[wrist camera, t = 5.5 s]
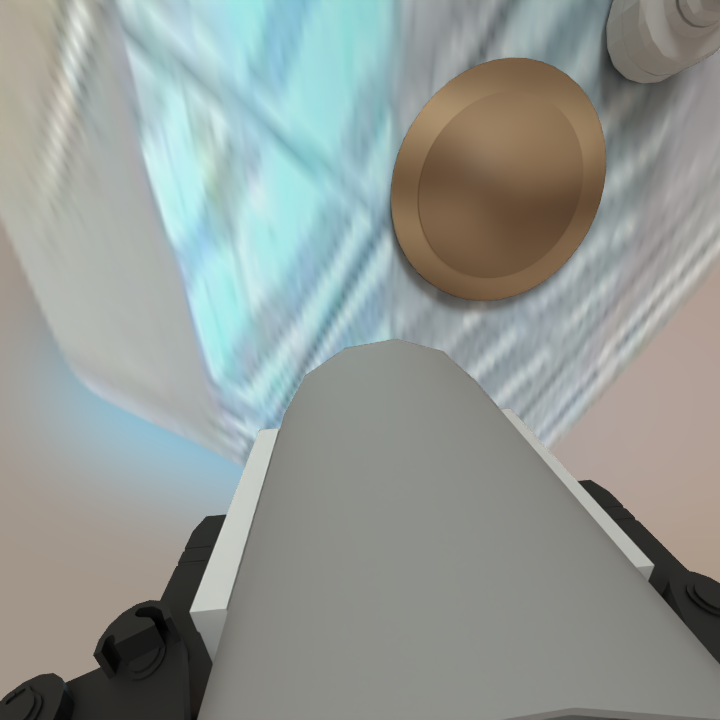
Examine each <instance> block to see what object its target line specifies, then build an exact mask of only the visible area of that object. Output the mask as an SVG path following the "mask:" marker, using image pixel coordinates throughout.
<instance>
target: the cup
mask: <svg viewBox="0 0 720 720" xmlns="http://www.w3.org/2000/svg"><path fill="white" fill-rule="evenodd" d="M197 720H720V664H719V663H718V662H717V661H716V660H715V658H714V657H713V656H712V655H711V654H710V653H709V651H708V650H707V649H706V648H705V647H704V646H703V645H702V643H701V642H700V641H699V640H698V639H697V638H696V636H695V635H694V634H693V633H692V632H691V631H690V629H689V628H688V627H687V626H686V625H685V624H684V622H683V621H682V620H681V619H680V618H679V617H678V615H677V614H676V613H675V612H674V611H673V610H672V609H671V607H670V606H669V605H668V604H667V603H666V602H665V600H664V599H663V598H662V597H661V596H660V595H659V593H658V592H657V591H656V590H655V589H654V588H653V586H652V585H651V584H650V583H649V582H648V581H647V579H646V578H645V577H644V576H643V575H642V574H641V572H640V571H639V570H638V569H637V568H636V567H635V566H634V564H633V563H632V562H631V561H630V560H629V559H628V557H627V556H626V555H625V554H624V553H623V552H622V550H621V549H620V548H619V547H618V546H617V545H616V543H615V542H614V541H613V540H612V539H611V538H610V536H609V535H608V534H607V533H606V532H605V531H604V529H603V528H602V527H601V526H600V525H599V524H598V523H597V521H596V520H595V519H594V518H593V517H592V516H591V514H590V513H589V512H588V511H587V510H586V509H585V507H584V506H583V505H582V504H581V503H580V502H579V500H578V499H577V498H576V497H575V496H574V495H573V493H572V492H571V491H570V490H569V489H568V488H567V486H566V485H565V484H564V483H563V482H562V481H561V480H560V478H559V477H558V476H557V475H556V474H555V473H554V471H553V470H552V469H551V468H550V467H549V466H548V464H547V463H546V462H545V461H544V460H543V459H542V457H541V456H540V455H539V454H538V453H537V452H536V450H535V449H534V448H533V447H532V446H531V445H530V443H529V442H528V441H527V440H526V439H525V438H524V437H523V435H522V434H521V433H520V432H519V431H518V430H517V428H516V427H515V426H514V425H513V424H512V423H511V421H510V420H509V419H508V418H507V417H506V416H505V414H504V413H503V412H502V411H501V410H500V409H499V407H498V406H497V405H496V404H495V403H494V402H493V401H492V399H491V398H490V397H489V396H488V395H487V394H486V392H485V391H484V390H483V389H482V388H481V387H480V385H479V384H478V383H477V382H476V381H475V380H474V379H473V378H472V377H471V376H470V375H469V374H468V373H466V372H465V371H464V370H463V369H462V368H461V367H460V366H459V365H458V364H457V363H455V362H454V361H453V360H452V359H451V358H450V357H449V356H448V355H447V354H446V353H444V352H443V351H440V350H436V349H432V348H429V347H425V346H421V345H417V344H413V343H410V342H406V341H402V340H398V339H393V340H387V341H382V342H376V343H370V344H365V345H359V346H354V347H348V348H345V349H343V350H342V351H340V352H339V353H337V354H336V355H334V356H333V357H332V358H330V359H329V360H327V361H326V362H324V363H323V364H321V365H320V366H319V367H317V368H316V369H314V370H313V371H311V372H310V373H308V374H307V375H306V376H305V377H304V379H303V381H302V383H301V384H300V386H299V388H298V390H297V392H296V394H295V396H294V397H293V399H292V401H291V403H290V405H289V407H288V409H287V410H286V412H285V414H284V418H283V421H282V425H281V428H280V432H279V435H278V439H277V442H276V446H275V449H274V453H273V456H272V460H271V463H270V467H269V470H268V473H267V477H266V480H265V484H264V487H263V491H262V494H261V498H260V501H259V505H258V508H257V512H256V515H255V519H254V522H253V526H252V529H251V533H250V536H249V540H248V543H247V547H246V550H245V554H244V557H243V561H242V564H241V568H240V571H239V575H238V578H237V582H236V585H235V589H234V592H233V596H232V599H231V603H230V606H229V610H228V613H227V617H226V620H225V624H224V627H223V631H222V634H221V638H220V641H219V645H218V648H217V652H216V655H215V659H214V662H213V666H212V669H211V673H210V676H209V680H208V683H207V687H206V690H205V694H204V697H203V701H202V704H201V708H200V711H199V715H198V718H197Z"/></svg>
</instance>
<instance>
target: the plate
mask: <svg viewBox="0 0 720 720" xmlns="http://www.w3.org/2000/svg"><path fill="white" fill-rule="evenodd" d="M605 173H606V150H605V140H604V136H603V131H602V127H601V124H600V121H599V118H598V116H597V113H596V111H595V109H594V107H593V105H592V103H591V102H590V100H589V98H588V96H587V95H586V94H585V93H584V91H583V90H582V89H581V88H580V86H579V85H578V84H577V83H576V82H575V81H574V80H572V79H571V78H570V77H569V76H568V75H567V74H565V73H563V72H562V71H560V70H559V69H557V68H556V67H553V66H551V65H549V64H546V63H544V62H541V61H537V60H532V59H527V58H505V59H498V60H493V61H490V62H486V63H483V64H480V65H477V66H475V67H473V68H471V69H469V70H467V71H465V72H463V73H461V74H460V75H458V76H457V77H455V78H454V79H452V80H451V81H449V82H448V83H447V84H446V85H445V86H444V87H443V88H441V89H440V90H439V91H438V92H437V93H436V94H435V95H434V96H433V97H432V98H431V100H430V101H429V102H428V103H427V104H426V105H425V106H424V108H423V109H422V111H421V112H420V113H419V115H418V116H417V118H416V119H415V121H414V122H413V124H412V125H411V127H410V129H409V131H408V132H407V134H406V136H405V138H404V140H403V143H402V145H401V148H400V150H399V153H398V155H397V159H396V163H395V166H394V170H393V176H392V183H391V213H392V220H393V225H394V230H395V233H396V236H397V239H398V242H399V244H400V246H401V248H402V250H403V252H404V254H405V256H406V257H407V259H408V260H409V262H410V263H411V265H412V266H413V267H414V268H415V270H416V271H417V272H418V273H419V274H420V275H421V276H422V277H423V278H425V279H426V280H427V281H428V282H429V283H431V284H433V285H434V286H436V287H437V288H439V289H441V290H442V291H444V292H447V293H449V294H451V295H454V296H457V297H460V298H464V299H469V300H477V301H489V300H498V299H504V298H507V297H511V296H515V295H517V294H520V293H522V292H525V291H527V290H529V289H531V288H533V287H535V286H536V285H538V284H540V283H541V282H543V281H544V280H546V279H547V278H548V277H550V276H551V275H552V274H553V273H555V272H556V271H557V270H558V269H559V268H560V267H561V266H562V265H563V264H564V263H565V262H566V261H567V260H568V259H569V258H570V257H571V256H572V254H573V253H574V252H575V250H576V249H577V248H578V246H579V245H580V244H581V242H582V240H583V239H584V237H585V235H586V234H587V232H588V230H589V228H590V226H591V224H592V222H593V220H594V218H595V215H596V212H597V209H598V207H599V204H600V200H601V196H602V192H603V188H604V181H605Z"/></svg>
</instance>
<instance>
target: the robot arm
mask: <svg viewBox="0 0 720 720" xmlns="http://www.w3.org/2000/svg"><path fill="white" fill-rule="evenodd" d="M500 410H501V411H502V412H503V413H504V414H505V416H506V417H507V418H508V419H509V420H510V421H511V423H512V424H513V425H514V426H515V427H516V428H517V430H518V431H519V432H520V433H521V434H522V435H523V437H524V438H525V439H526V440H527V441H528V442H529V443H530V445H531V446H532V447H533V448H534V449H535V450H536V452H537V453H538V454H539V455H540V456H541V457H542V459H543V460H544V461H545V462H546V463H547V464H548V466H549V467H550V468H551V469H552V470H553V471H554V473H555V474H556V475H557V476H558V477H559V478H560V480H561V481H562V482H563V483H564V484H565V485H566V486H567V488H568V489H569V490H570V491H571V492H572V493H573V495H574V496H575V497H576V498H577V499H578V500H579V502H580V503H581V504H582V505H583V506H584V507H585V509H586V510H587V511H588V512H589V513H590V514H591V516H592V517H593V518H594V519H595V520H596V521H597V523H598V524H599V525H600V526H601V527H602V528H603V529H604V531H605V532H606V533H607V534H608V535H609V536H610V538H611V539H612V540H613V541H614V542H615V543H616V545H617V546H618V547H619V548H620V549H621V550H622V552H623V553H624V554H625V555H626V556H627V557H628V559H629V560H630V561H631V562H632V563H633V564H634V566H635V567H636V568H637V569H638V570H639V571H640V572H641V574H642V575H643V576H644V577H645V578H646V579H647V581H648V582H649V583H650V584H651V585H652V586H653V588H654V589H655V590H656V591H657V592H658V593H659V595H660V596H661V597H662V598H663V599H664V600H665V602H666V603H667V604H668V605H669V606H670V607H671V609H672V610H673V611H674V612H675V613H676V614H677V615H678V617H679V618H680V619H681V620H682V621H683V622H684V624H685V625H686V626H687V627H688V628H689V629H690V631H691V632H692V633H693V634H694V635H695V636H696V638H697V639H698V640H699V641H700V642H701V643H702V645H703V646H704V647H705V648H706V649H707V650H708V651H709V653H710V654H711V655H712V656H713V657H714V658H715V660H716V661H717V662H718V663H719V664H720V583H718V582H717V581H715V580H713V579H711V578H709V577H707V576H704V575H701V574H698V573H696V572H690V571H689V570H687V569H686V568H685V567H684V566H683V565H682V564H681V563H680V562H679V561H678V560H677V559H676V558H675V557H674V556H673V555H672V554H671V553H670V552H669V551H668V550H667V549H666V548H665V547H664V546H663V545H662V544H661V543H660V542H659V541H658V540H657V539H656V538H655V537H654V536H653V535H652V534H651V533H650V532H649V531H648V530H647V529H646V528H645V527H644V526H643V525H642V524H641V523H640V522H639V521H636V520H635V517H634V516H633V515H632V514H631V513H630V512H629V511H628V510H627V509H624V508H623V505H622V504H621V503H620V502H619V501H618V500H617V499H616V498H615V497H614V496H613V495H612V494H611V493H610V492H609V491H607V490H606V489H604V488H602V487H601V486H599V485H598V484H596V483H594V482H593V481H591V480H584V481H577V480H576V479H574V477H573V476H572V475H571V474H570V473H569V472H568V471H567V470H566V469H565V467H564V466H563V465H562V464H561V463H560V462H559V461H558V460H557V459H556V458H555V457H554V455H553V454H552V453H551V452H550V451H549V450H548V449H547V448H546V447H545V446H544V445H543V443H542V442H541V441H540V440H539V439H538V438H537V437H536V436H535V435H534V434H533V433H532V432H531V430H530V429H529V428H528V427H527V426H526V425H525V424H524V423H523V422H522V421H521V420H520V418H519V417H518V416H517V415H516V414H515V413H514V412H513V411H512V410H511V409H500ZM279 432H280V431H279V428H277V429H266V430H259V433H258V435H257V438H256V440H255V443H254V446H253V448H252V451H251V453H250V456H249V459H248V461H247V464H246V466H245V469H244V472H243V474H242V477H241V480H240V482H239V485H238V487H237V490H236V492H235V495H234V498H233V501H232V503H231V506H230V508H229V511H228V513H227V515H217V516H207V517H206V518H205V519H204V520H203V521H202V522H201V523H200V524H199V525H198V526H197V527H196V529H195V530H194V531H193V532H192V534H191V537H190V539H189V541H188V543H187V545H186V547H185V551H184V552H183V553H182V555H181V558H180V560H179V562H178V566H176V568H175V570H174V572H173V575H172V577H171V579H170V581H169V583H168V585H167V587H166V589H165V592H164V593H163V596H162V598H161V600H160V601H154V600H149V601H146V602H143V603H139V604H136V605H135V606H133V607H132V608H130V609H128V610H127V611H125V612H123V613H122V614H121V615H120V616H119V617H118V618H117V619H116V620H115V621H114V622H112V623H111V624H110V625H109V626H108V628H107V629H106V631H105V632H104V634H103V635H102V636H101V638H100V639H99V641H98V644H97V646H96V650H95V652H94V655H93V656H94V657H95V659H96V660H97V662H98V663H99V665H100V668H98V669H96V670H93V671H91V672H89V673H87V674H85V675H82V676H80V677H78V678H76V679H73V680H71V681H68V682H66V683H65V682H64V681H63V679H62V678H61V677H59V676H57V675H56V674H54V673H51V674H42V675H39V676H36V677H34V678H32V679H30V680H28V681H26V682H24V683H22V684H21V685H20V686H18V687H17V688H16V689H14V690H13V691H12V692H10V693H9V694H7V695H6V696H5V697H4V698H3V699H2V700H1V701H0V720H197V718H198V715H199V711H200V708H201V704H202V701H203V697H204V694H205V690H206V687H207V683H208V680H209V676H210V673H211V669H212V666H213V662H214V659H215V655H216V652H217V648H218V645H219V641H220V638H221V634H222V631H223V627H224V624H225V620H226V617H227V613H228V610H229V606H230V603H231V599H232V596H233V592H234V589H235V585H236V582H237V578H238V575H239V571H240V568H241V564H242V561H243V557H244V554H245V550H246V547H247V543H248V540H249V536H250V533H251V529H252V526H253V522H254V519H255V515H256V512H257V508H258V505H259V501H260V498H261V494H262V491H263V487H264V484H265V480H266V477H267V473H268V470H269V467H270V463H271V460H272V456H273V453H274V449H275V446H276V442H277V439H278V435H279Z"/></svg>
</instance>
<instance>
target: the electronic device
mask: <svg viewBox="0 0 720 720" xmlns="http://www.w3.org/2000/svg"><path fill="white" fill-rule="evenodd" d="M606 31H607V49H608V52H609V55H610V57H611V60H612V63H613V66H614V67H615V68H616V69H617V70H618V71H619V72H620V73H621V74H622V75H623V76H624V77H625V78H627V79H629V80H632V81H636V82H639V83H642V84H643V83H654V82H660V81H662V80H664V79H666V78H668V77H670V76H672V75H674V74H677V73H679V72H681V71H682V70H684V69H686V68H688V67H690V66H692V65H694V64H696V63H698V62H700V61H702V60H703V59H705V58H707V57H709V56H711V55H713V54H714V53H715V52H716V51H717V50H718V49H719V48H720V0H613V3H612V6H611V10H610V14H609V18H608V22H607V26H606Z"/></svg>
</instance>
